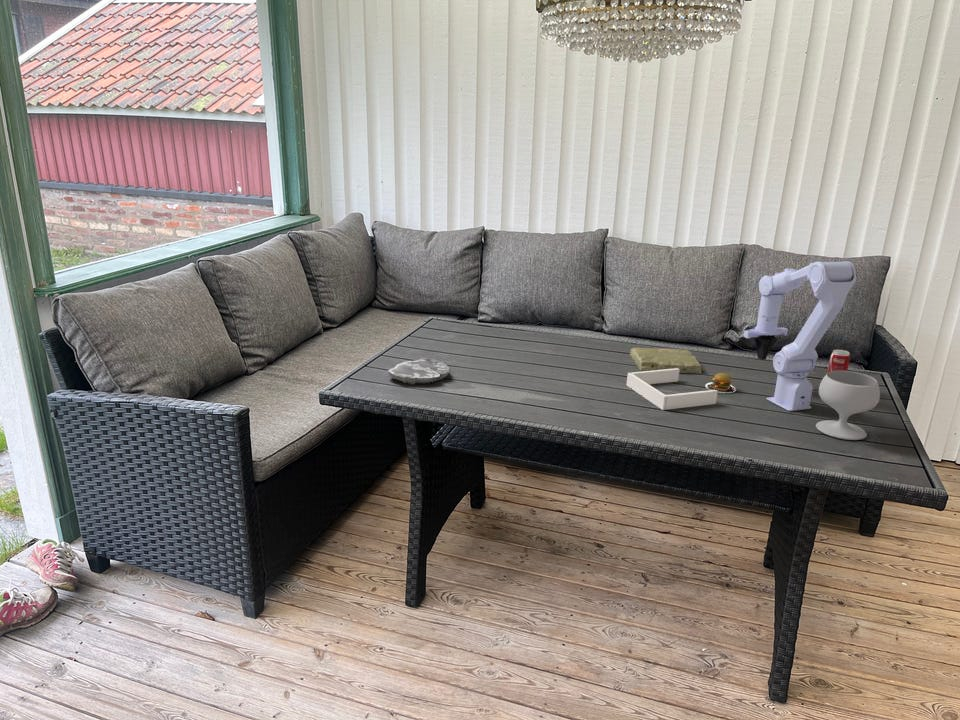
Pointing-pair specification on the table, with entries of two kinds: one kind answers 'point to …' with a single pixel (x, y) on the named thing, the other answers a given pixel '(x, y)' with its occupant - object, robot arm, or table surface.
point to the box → (665, 402)
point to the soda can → (839, 360)
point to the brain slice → (420, 371)
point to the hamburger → (721, 382)
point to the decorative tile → (665, 359)
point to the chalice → (847, 401)
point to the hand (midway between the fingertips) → (761, 358)
